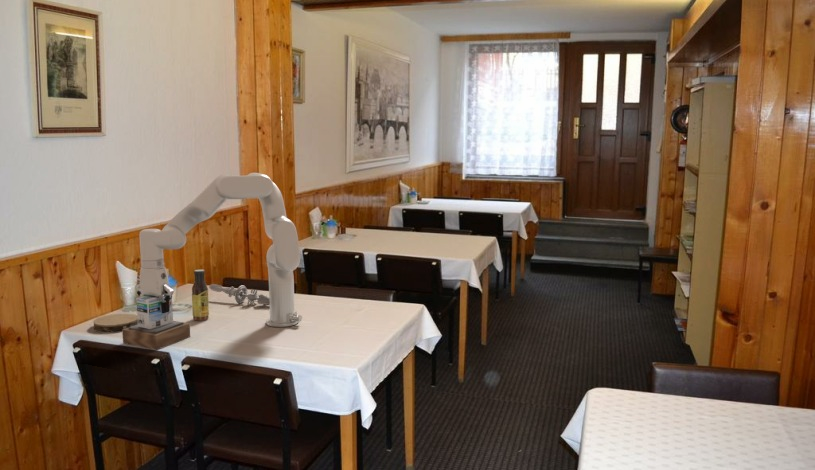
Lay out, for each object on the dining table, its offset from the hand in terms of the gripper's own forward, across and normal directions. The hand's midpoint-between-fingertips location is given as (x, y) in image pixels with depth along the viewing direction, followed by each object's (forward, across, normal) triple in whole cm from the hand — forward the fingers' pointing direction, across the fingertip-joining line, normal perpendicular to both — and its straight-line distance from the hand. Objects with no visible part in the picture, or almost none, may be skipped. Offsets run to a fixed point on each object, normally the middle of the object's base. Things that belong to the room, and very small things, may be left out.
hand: (155, 310), depth 238 cm
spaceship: (+11, +6, -54) cm, 55 cm away
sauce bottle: (+11, +4, -27) cm, 29 cm away
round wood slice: (+11, +27, -6) cm, 30 cm away
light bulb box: (+5, 0, 0) cm, 5 cm away
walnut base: (+11, 0, 0) cm, 11 cm away
